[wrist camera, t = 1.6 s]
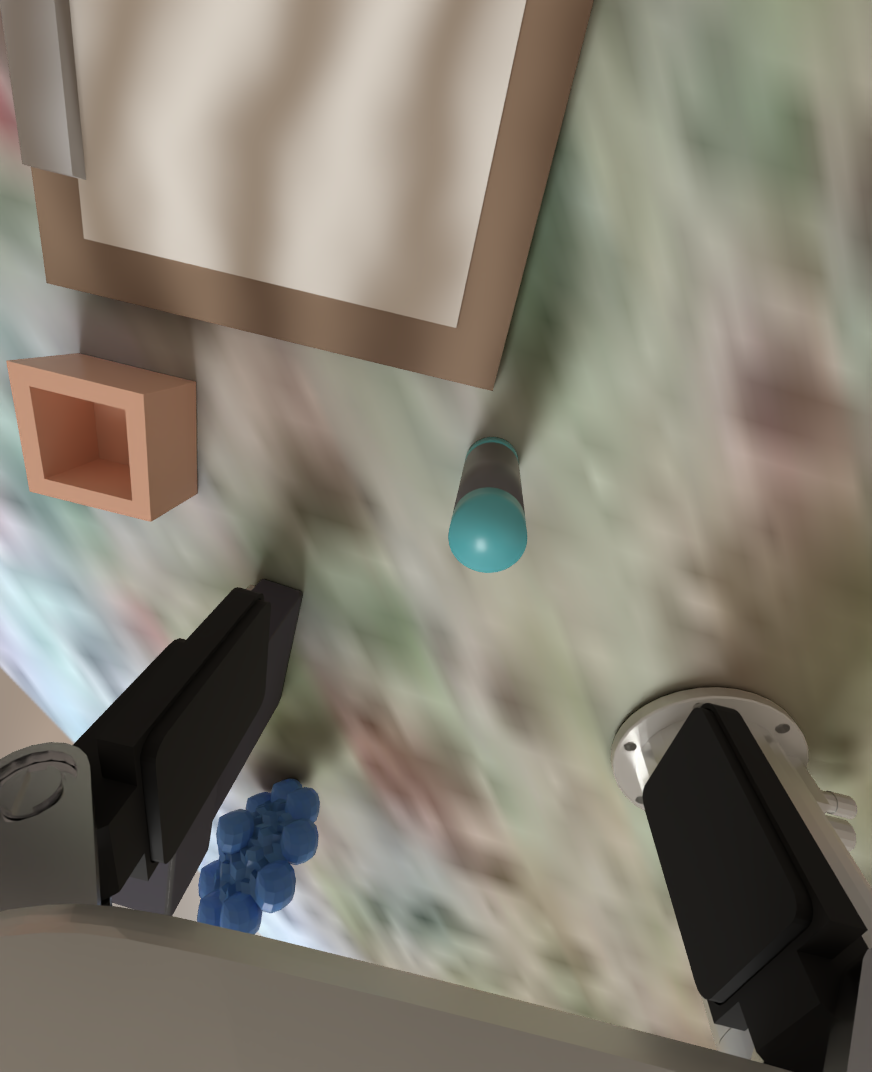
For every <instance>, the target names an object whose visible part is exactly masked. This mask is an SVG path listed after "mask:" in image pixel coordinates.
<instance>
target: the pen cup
mask: <svg viewBox="0 0 872 1072" xmlns="http://www.w3.org/2000/svg"><path fill="white" fill-rule="evenodd" d="M6 362H7V367H8V373H9V378H10V384H11V389H12V395H13V401H14V406H15V412H16V417H17V423H18V429H19V434H20V440H21V445H22V451H23V456H24V462H25V468H26V473H27V479H28V484H29V490H30V492H34V493H38V494H42V495H46V496H50V497H54V498H58V499H62V500H66V501H70V502H74V503H78V504H82V505H86V506H90V507H94V508H98V509H102V510H106V511H110V512H114V513H118V514H122V515H126V516H130V517H134V518H138V519H142V520H146V521H150V522H151V521H153V520H155V519H156V518H158V517H160V516H161V515H163V514H165V513H166V512H168V511H169V510H171V509H173V508H174V507H176V506H178V505H179V504H181V503H183V502H184V501H186V500H188V499H189V498H191V497H193V496H194V495H196V494H197V419H196V382H195V381H191V380H186V379H182V378H178V377H174V376H170V375H166V374H162V373H158V372H154V371H150V370H146V369H142V368H137V367H133V366H129V365H125V364H121V363H117V362H113V361H109V360H105V359H101V358H97V357H93V356H88V355H84V354H80V353H76V354H66V355H56V356H47V357H37V358H28V359H18V360H8V361H6Z"/></svg>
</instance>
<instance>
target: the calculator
mask: <svg viewBox="0 0 872 1072" xmlns="http://www.w3.org/2000/svg"><path fill="white" fill-rule="evenodd" d="M247 590H251V591H255V592H259V593H262V594H263V595H264V601H267V602H270V604H271V615H270V630H269V645H268V660H267V675H266V691H265V696H264V700H263V703H262V705H261V707H260V709H259V711H258V713H257V714H256V716H255V718H254V720H253V721H252V723H251V725H250V726H249V728H248V730H247V732H246V733H245V735H244V737H243V738H242V740H241V742H240V743H239V745H238V747H237V749H236V750H235V752H234V754H233V755H232V757H231V759H230V761H229V762H228V764H227V766H226V767H225V769H224V771H223V773H222V774H221V776H220V778H219V779H218V781H217V783H216V785H215V786H214V788H213V790H212V791H211V793H210V795H209V797H208V798H207V800H206V802H205V803H204V805H203V807H202V809H201V810H200V812H199V814H198V815H197V817H196V819H195V820H194V822H193V824H192V826H191V827H190V829H189V831H188V832H187V834H186V836H185V838H184V839H183V841H182V843H181V844H180V846H179V848H178V850H177V851H176V853H175V855H174V856H173V858H172V859H171V860H170V861H169V862H168V863H167V864H164V863H160V862H159V864H158V866H157V867H156V869H155V871H154V872H153V874H152V876H151V877H150V879H149V881H145V880H141V879H137V878H133V877H129V878H128V880H127V881H126V883H125V884H124V886H123V888H122V889H121V891H120V892H119V893H117V894H115V895H113V896H112V903H115V904H118V905H122V906H125V907H128V908H131V909H134V910H140V911H146V912H152V913H158V914H164V915H169V916H172V915H173V913H174V911H175V909H176V908H177V906H178V904H179V902H180V900H181V899H182V897H183V895H184V893H185V891H186V889H187V887H188V886H189V884H190V882H191V880H192V878H193V876H194V875H195V873H196V871H197V869H198V867H199V865H200V864H201V862H202V860H203V858H204V856H205V854H206V852H207V850H208V847H209V841H210V835H211V828H212V821H213V819H214V817H215V815H216V814H217V812H218V810H219V808H220V806H221V805H222V803H223V801H224V799H225V798H226V796H227V794H228V792H229V791H230V789H231V787H232V785H233V783H234V782H235V780H236V778H237V776H238V775H239V773H240V771H241V769H242V768H243V766H244V764H245V762H246V760H247V759H248V757H249V755H250V753H251V752H252V750H253V748H254V746H255V745H256V743H257V741H258V739H259V737H260V736H261V734H262V732H263V730H264V729H265V727H266V725H267V723H268V722H269V720H270V718H271V716H272V714H273V713H274V711H275V709H276V707H277V706H278V704H279V701H280V698H281V694H282V689H283V684H284V680H285V675H286V670H287V666H288V661H289V656H290V652H291V647H292V643H293V638H294V633H295V629H296V624H297V619H298V615H299V610H300V605H301V601H302V596H303V593H302V592H301V591H299V590H296V589H293V588H290V587H287V586H284V585H281V584H278V583H275V582H271V581H268V580H265V579H262V580H260V581H259V583H258V584H257V585H256V586H253V585H250V586H249V587H248V588H247Z"/></svg>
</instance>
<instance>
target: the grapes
mask: <svg viewBox="0 0 872 1072" xmlns="http://www.w3.org/2000/svg"><path fill="white" fill-rule="evenodd" d="M319 806H320V801H319V797H318V794H317V793H316V792H315V790H314V789H313V788H307V787H303V788H302V785H301V784H300V782H299V781H298V780H296V779H286V780H282V781H280V782H278V783H275V784H273V787H272V791H271V793H269V792H262V793H259V794H256V795H254V796H252V797H250V798H248V800H247V804H246V810H243V809H238V810H235V811H231V812H229V813H227V814H225V815H223V816H221V817H220V818H219V822H218V827H217V833H216V836H217V844H218V851H219V855H220V856H219V860H216V861H213V862H211V863H210V864H208V865H206V866H205V867H203V868H202V869H201V873H200V878H199V884H198V886H199V896H200V898H201V900H200V904H199V909H198V915H197V922H200V923H205V924H209V925H214V926H218V927H222V928H227V929H231V930H236V931H240V932H245V933H249V934H254V935H255V933H256V932H257V931H258V930H259V927H260V924H261V917H262V911H264V912H268V913H273V912H276V911H279V910H281V909H283V908H284V907H285V906H286V905H288V904H289V903H290V902H291V900H292V899H293V895H294V892H295V883H296V878H295V873H294V869H293V867H292V866H291V865H290V864H293V865H298V864H301V863H304V862H306V861H308V860H309V859H311V858H312V857H313V856H314V855H315V853H316V849H317V846H318V831H317V827H316V825H315V824H314V822H315V821H316V820H317V817H318V813H319Z"/></svg>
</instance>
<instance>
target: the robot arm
mask: <svg viewBox="0 0 872 1072" xmlns="http://www.w3.org/2000/svg"><path fill="white" fill-rule="evenodd" d="M270 615H271V604H270V602H267V601H264V595H263V594H262V593H259V592H255V591H251V590H247V589H242V588H238V587H237V588H234V589H233V590H232V591H231V592H230V593H229V594H228V595H227V596H226V597H225V598H224V600H223V601H222V602H221V603H220V604H219V605H218V606H217V607H216V608H215V609H214V610H213V612H212V613H211V614H210V615H209V616H208V617H207V618H206V619H205V620H204V621H203V622H202V623H201V625H200V626H199V627H198V628H197V629H196V630H195V631H194V632H193V633H192V634H191V635H190V636H189V638H188V639H187V640H185V639H181V638H179V639H177V640H174V641H173V642H172V643H171V644H169V645H168V646H167V647H166V648H165V649H164V650H163V652H162V653H161V654H160V655H159V656H158V657H157V658H156V659H155V660H154V661H153V662H152V663H151V664H150V665H149V666H148V667H147V668H146V669H145V670H144V671H143V672H142V673H141V674H140V676H139V677H138V678H137V679H136V680H135V681H134V682H133V683H132V684H131V685H130V686H129V687H128V688H127V689H126V690H125V691H124V692H123V693H122V694H121V695H120V696H119V697H118V698H117V699H116V701H115V702H114V703H113V704H112V705H111V706H110V707H109V708H108V709H107V710H106V711H105V712H104V713H103V714H102V715H101V716H100V717H99V718H98V719H97V720H96V721H95V722H94V723H93V725H92V726H91V727H90V728H89V729H88V730H87V731H86V732H85V733H84V734H83V735H82V736H81V737H80V738H79V739H78V740H77V741H76V742H75V743H74V744H73V745H70V744H67V743H53V742H49V743H43V744H37V745H31V746H29V747H26V748H23V749H20V750H18V751H15V752H12V753H11V754H9V755H7V756H5V757H4V758H2V759H0V1072H872V888H871V886H870V885H869V883H868V881H867V880H866V878H865V877H864V875H863V874H862V872H861V870H860V869H859V867H858V866H857V864H856V863H855V861H854V860H853V858H852V856H851V855H850V853H849V852H848V851H851V850H852V849H854V847H855V844H856V834H855V831H854V829H853V827H852V826H851V825H850V824H849V823H848V822H847V821H846V820H843V819H840V818H836V817H832V816H828V815H825V813H826V812H827V813H829V814H833V815H837V816H841V817H845V818H849V819H852V818H854V817H855V816H856V814H857V805H856V803H855V801H854V800H853V799H852V798H851V797H850V796H846V795H842V794H838V793H834V792H830V791H822V790H820V788H819V787H818V786H817V784H816V783H815V781H814V780H813V778H812V777H811V775H810V774H809V772H808V771H807V769H806V768H807V765H808V761H809V754H808V745H807V743H806V740H805V737H804V735H803V733H802V732H801V730H800V729H799V727H798V726H797V724H796V723H795V721H794V720H793V719H792V718H791V717H790V715H789V714H788V713H787V712H786V711H785V710H784V709H783V708H781V707H780V706H778V705H777V704H775V703H774V702H772V701H771V700H769V699H766V698H764V697H762V696H759V695H757V694H755V693H751V692H747V691H743V690H739V689H731V688H721V687H710V688H695V689H690V690H684V691H679V692H676V693H673V694H669V695H666V696H663V697H661V698H659V699H657V700H655V701H652V702H650V703H648V704H646V705H645V706H643V707H642V708H641V709H639V710H638V711H636V712H635V713H634V714H632V715H631V716H630V717H629V718H628V719H627V720H626V721H625V722H624V723H623V725H622V726H621V727H620V729H619V731H618V732H617V734H616V735H615V738H614V741H613V744H612V747H611V764H612V769H613V774H614V777H615V780H616V782H617V785H618V787H619V788H620V790H621V791H622V792H623V794H624V795H625V797H627V798H628V799H629V800H630V801H631V802H632V803H633V804H634V805H636V806H637V807H639V808H641V809H642V810H644V811H645V812H646V815H647V819H648V822H649V826H650V829H651V832H652V836H653V839H654V843H655V846H656V850H657V853H658V857H659V860H660V863H661V867H662V870H663V874H664V877H665V881H666V884H667V887H668V891H669V894H670V898H671V901H672V905H673V908H674V911H675V915H676V918H677V922H678V925H679V929H680V932H681V936H682V939H683V942H684V946H685V949H686V953H687V956H688V960H689V963H690V966H691V970H692V973H693V977H694V980H695V983H696V986H697V989H698V991H699V993H700V994H701V997H702V1001H703V1004H704V1008H705V1011H706V1014H707V1018H708V1021H709V1025H710V1028H711V1032H712V1035H713V1038H714V1042H715V1045H716V1049H717V1051H716V1050H712V1049H708V1048H704V1047H700V1046H696V1045H692V1044H688V1043H685V1042H681V1041H677V1040H673V1039H669V1038H665V1037H661V1036H657V1035H654V1034H650V1033H646V1032H642V1031H638V1030H634V1029H630V1028H626V1027H622V1026H619V1025H615V1024H611V1023H607V1022H603V1021H599V1020H595V1019H591V1018H588V1017H584V1016H580V1015H576V1014H572V1013H568V1012H564V1011H560V1010H556V1009H552V1008H548V1007H544V1006H540V1005H536V1004H532V1003H528V1002H524V1001H520V1000H516V999H512V998H508V997H504V996H501V995H497V994H493V993H489V992H485V991H481V990H477V989H473V988H469V987H465V986H461V985H457V984H453V983H449V982H445V981H441V980H437V979H433V978H429V977H425V976H421V975H417V974H413V973H409V972H405V971H401V970H397V969H393V968H389V967H384V966H380V965H376V964H372V963H368V962H364V961H360V960H356V959H352V958H348V957H344V956H340V955H336V954H332V953H327V952H323V951H319V950H315V949H311V948H307V947H303V946H299V945H295V944H291V943H287V942H283V941H279V940H275V939H270V938H266V937H262V936H258V935H254V934H249V933H245V932H240V931H236V930H231V929H227V928H222V927H218V926H214V925H209V924H205V923H200V922H196V921H191V920H187V919H182V918H178V917H173V916H169V915H164V914H158V913H152V912H146V911H140V910H134V909H128V908H121V907H115V906H112V896H113V895H115V894H117V893H119V892H120V891H121V889H122V888H123V886H124V884H125V883H126V881H127V880H128V878H129V877H133V878H137V879H141V880H145V881H149V879H150V877H151V876H152V874H153V872H154V871H155V869H156V867H157V866H158V864H159V862H160V863H164V864H167V863H168V862H169V861H170V860H171V859H172V858H173V856H174V855H175V853H176V851H177V850H178V848H179V846H180V844H181V843H182V841H183V839H184V838H185V836H186V834H187V832H188V831H189V829H190V827H191V826H192V824H193V822H194V820H195V819H196V817H197V815H198V814H199V812H200V810H201V809H202V807H203V805H204V803H205V802H206V800H207V798H208V797H209V795H210V793H211V791H212V790H213V788H214V786H215V785H216V783H217V781H218V779H219V778H220V776H221V774H222V773H223V771H224V769H225V767H226V766H227V764H228V762H229V761H230V759H231V757H232V755H233V754H234V752H235V750H236V749H237V747H238V745H239V743H240V742H241V740H242V738H243V737H244V735H245V733H246V732H247V730H248V728H249V726H250V725H251V723H252V721H253V720H254V718H255V716H256V714H257V713H258V711H259V709H260V707H261V705H262V703H263V700H264V696H265V691H266V675H267V660H268V645H269V630H270Z"/></svg>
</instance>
